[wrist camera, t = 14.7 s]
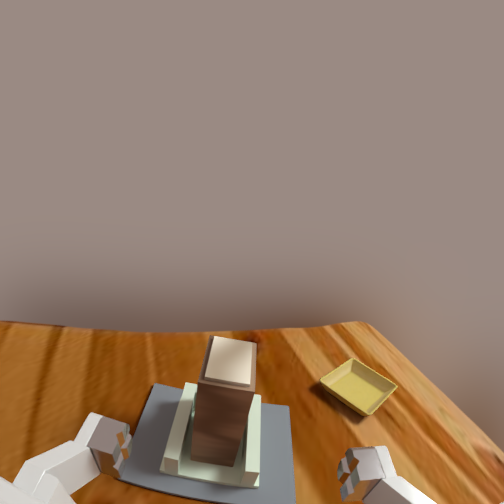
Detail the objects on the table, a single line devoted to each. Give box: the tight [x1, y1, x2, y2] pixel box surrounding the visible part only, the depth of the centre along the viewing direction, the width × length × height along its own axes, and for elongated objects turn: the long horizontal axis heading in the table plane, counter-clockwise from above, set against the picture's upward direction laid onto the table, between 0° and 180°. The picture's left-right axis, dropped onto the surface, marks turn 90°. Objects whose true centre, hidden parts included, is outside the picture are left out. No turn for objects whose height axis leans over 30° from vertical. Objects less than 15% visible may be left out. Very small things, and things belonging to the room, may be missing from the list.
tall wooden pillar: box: [190, 335, 257, 467], centre depth 25 cm, size 4×6×11 cm, turn 178°
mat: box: [118, 383, 296, 504], centre depth 27 cm, size 16×14×1 cm
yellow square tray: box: [320, 358, 397, 416], centre depth 37 cm, size 9×9×2 cm
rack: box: [160, 382, 261, 489], centre depth 26 cm, size 9×10×3 cm
